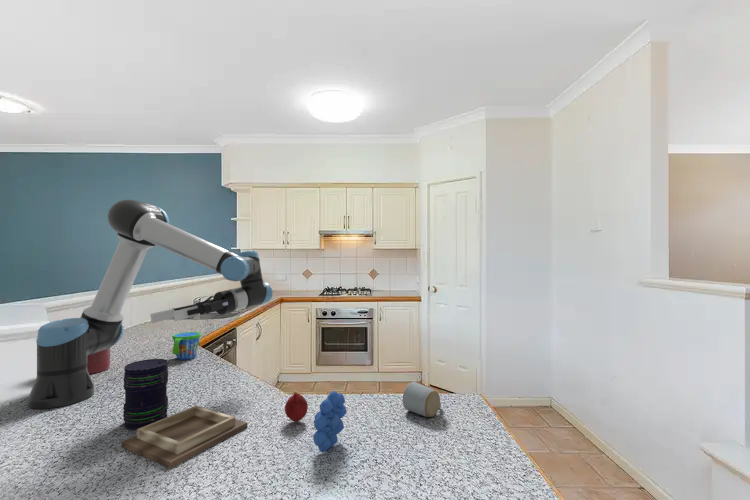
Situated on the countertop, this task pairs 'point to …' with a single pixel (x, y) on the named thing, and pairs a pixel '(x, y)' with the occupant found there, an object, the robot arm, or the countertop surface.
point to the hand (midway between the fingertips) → (162, 317)
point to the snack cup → (186, 345)
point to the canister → (98, 361)
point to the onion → (296, 407)
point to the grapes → (329, 421)
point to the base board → (182, 435)
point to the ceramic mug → (421, 399)
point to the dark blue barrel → (145, 393)
